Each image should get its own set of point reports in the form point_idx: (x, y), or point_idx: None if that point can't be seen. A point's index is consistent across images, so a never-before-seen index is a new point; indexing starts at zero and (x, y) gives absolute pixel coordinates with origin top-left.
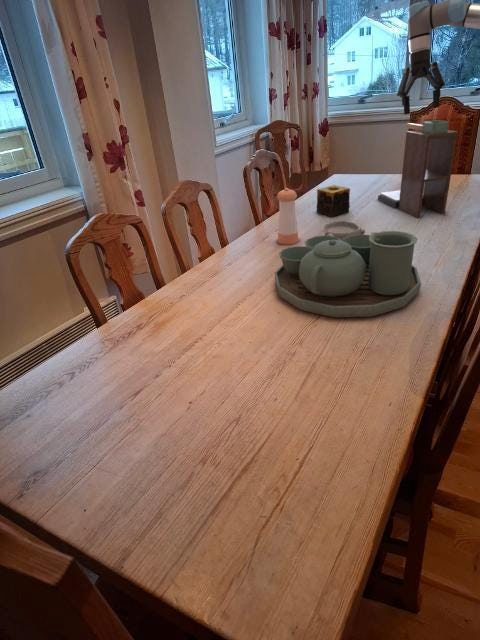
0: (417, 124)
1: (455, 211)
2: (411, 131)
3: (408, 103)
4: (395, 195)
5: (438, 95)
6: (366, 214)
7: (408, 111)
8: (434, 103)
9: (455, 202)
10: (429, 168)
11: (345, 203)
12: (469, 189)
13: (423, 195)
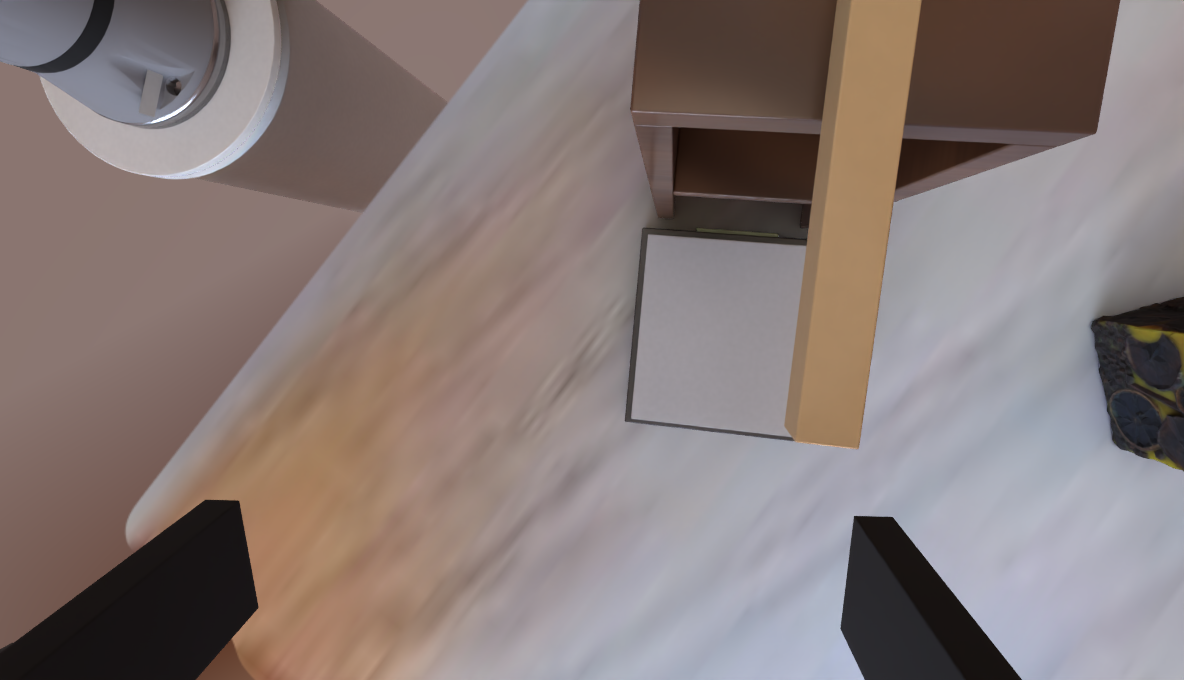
0: (848, 221)
1: (611, 33)
2: (1052, 73)
3: (990, 667)
4: (770, 336)
5: (20, 653)
6: (1031, 229)
7: (905, 545)
8: (202, 629)
9: (508, 167)
10: (676, 154)
11: (1167, 320)
12: (304, 324)
13: (673, 210)
